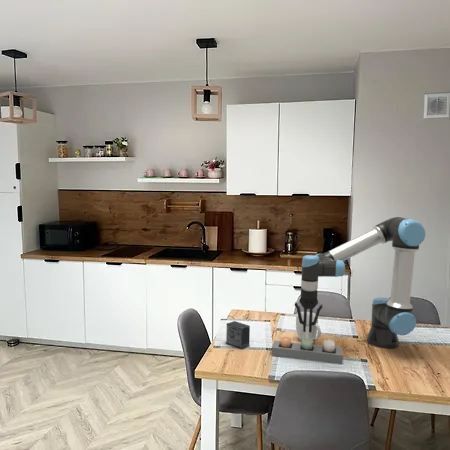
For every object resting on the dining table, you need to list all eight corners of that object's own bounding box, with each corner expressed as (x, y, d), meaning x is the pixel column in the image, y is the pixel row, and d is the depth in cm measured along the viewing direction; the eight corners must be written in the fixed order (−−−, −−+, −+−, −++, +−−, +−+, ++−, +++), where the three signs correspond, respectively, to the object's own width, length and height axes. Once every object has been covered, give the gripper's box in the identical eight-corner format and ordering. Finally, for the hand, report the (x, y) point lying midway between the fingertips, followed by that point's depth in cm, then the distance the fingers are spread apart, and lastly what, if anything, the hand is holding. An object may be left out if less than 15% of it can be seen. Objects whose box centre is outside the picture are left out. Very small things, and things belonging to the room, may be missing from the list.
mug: (327, 343, 218) (328, 318, 217) (311, 348, 212) (312, 322, 211) (306, 334, 230) (307, 310, 229) (290, 338, 224) (291, 313, 223)
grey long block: (342, 356, 203) (342, 348, 202) (342, 364, 194) (342, 355, 194) (274, 348, 211) (274, 340, 210) (271, 355, 202) (271, 347, 202)
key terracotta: (291, 345, 206) (291, 337, 206) (290, 349, 202) (290, 341, 201) (280, 344, 208) (281, 336, 207) (279, 348, 203) (279, 340, 202)
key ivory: (334, 348, 201) (335, 340, 201) (334, 352, 196) (334, 344, 196) (323, 347, 203) (324, 338, 202) (323, 351, 198) (323, 342, 197)
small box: (250, 345, 214) (250, 325, 213) (241, 349, 209) (242, 328, 208) (234, 340, 221) (234, 320, 220) (225, 343, 216) (225, 323, 215)
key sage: (312, 345, 204) (313, 337, 203) (312, 350, 199) (312, 341, 199) (302, 344, 205) (302, 336, 205) (301, 348, 200) (301, 340, 200)
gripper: (324, 288, 201) (321, 337, 204) (295, 285, 204) (293, 334, 207) (323, 292, 194) (321, 343, 196) (294, 289, 197) (292, 339, 200)
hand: (307, 338), depth 202 cm, fingers closed
